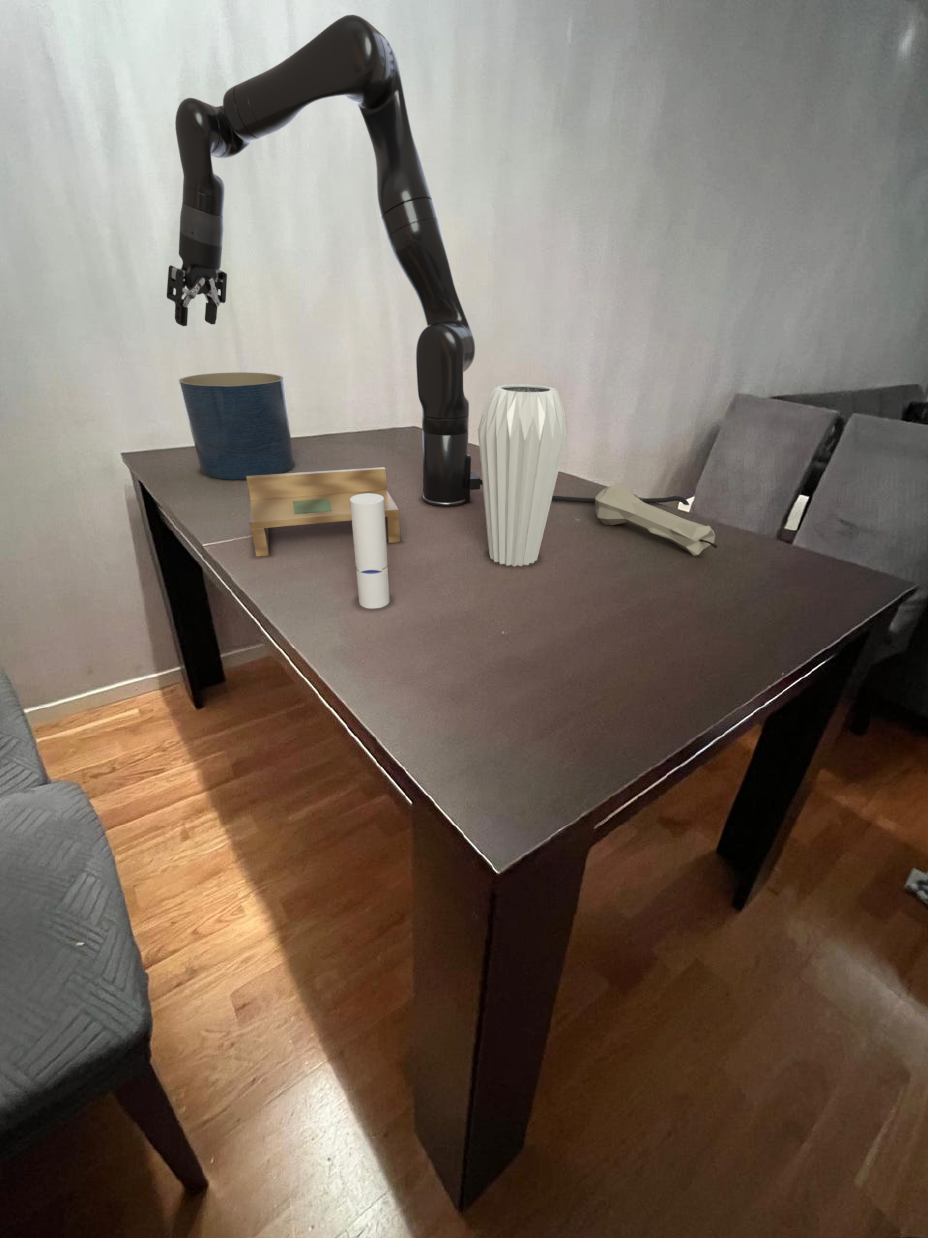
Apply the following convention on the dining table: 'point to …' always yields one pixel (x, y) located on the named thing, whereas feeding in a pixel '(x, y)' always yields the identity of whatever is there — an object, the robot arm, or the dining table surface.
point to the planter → (238, 423)
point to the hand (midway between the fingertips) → (196, 323)
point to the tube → (370, 549)
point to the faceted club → (651, 519)
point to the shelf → (314, 500)
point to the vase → (520, 467)
